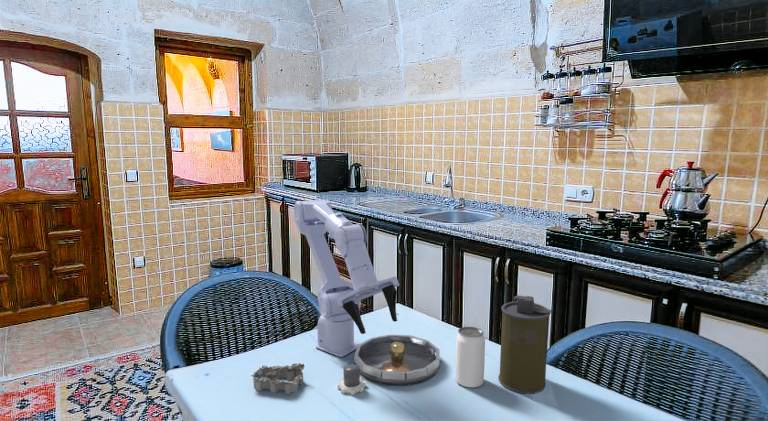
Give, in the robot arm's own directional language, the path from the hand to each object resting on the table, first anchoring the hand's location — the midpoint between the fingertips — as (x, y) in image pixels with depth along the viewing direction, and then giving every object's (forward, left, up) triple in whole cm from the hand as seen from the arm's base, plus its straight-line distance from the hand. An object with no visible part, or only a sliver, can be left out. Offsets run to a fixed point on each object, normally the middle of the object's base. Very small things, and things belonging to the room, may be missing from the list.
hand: (379, 326), depth 102 cm
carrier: (-2, +11, -14) cm, 17 cm away
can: (+16, +14, -14) cm, 25 cm away
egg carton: (-18, -13, -14) cm, 27 cm away
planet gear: (-4, -4, -14) cm, 15 cm away
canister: (+26, +21, -14) cm, 36 cm away
